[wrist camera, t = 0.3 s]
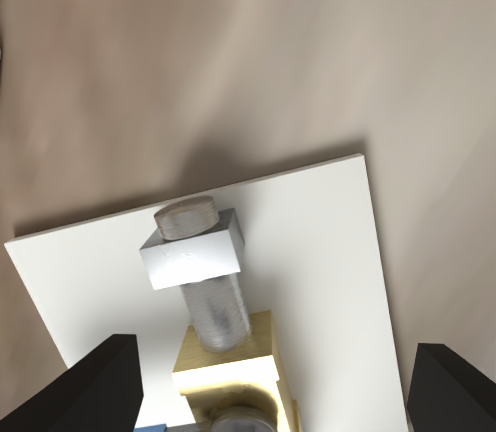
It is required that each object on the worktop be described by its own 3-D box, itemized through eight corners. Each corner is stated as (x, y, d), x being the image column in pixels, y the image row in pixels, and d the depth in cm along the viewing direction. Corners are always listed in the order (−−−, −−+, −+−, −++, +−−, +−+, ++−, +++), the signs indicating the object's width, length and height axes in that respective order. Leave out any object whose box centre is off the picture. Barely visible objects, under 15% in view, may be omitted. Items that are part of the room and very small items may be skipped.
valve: (311, 452, 23) (319, 520, 19) (238, 463, 23) (233, 530, 20) (237, 186, 17) (228, 211, 14) (145, 209, 18) (113, 238, 14)
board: (404, 427, 22) (409, 439, 22) (129, 467, 25) (125, 478, 24) (359, 152, 17) (363, 155, 16) (13, 238, 20) (3, 244, 19)
